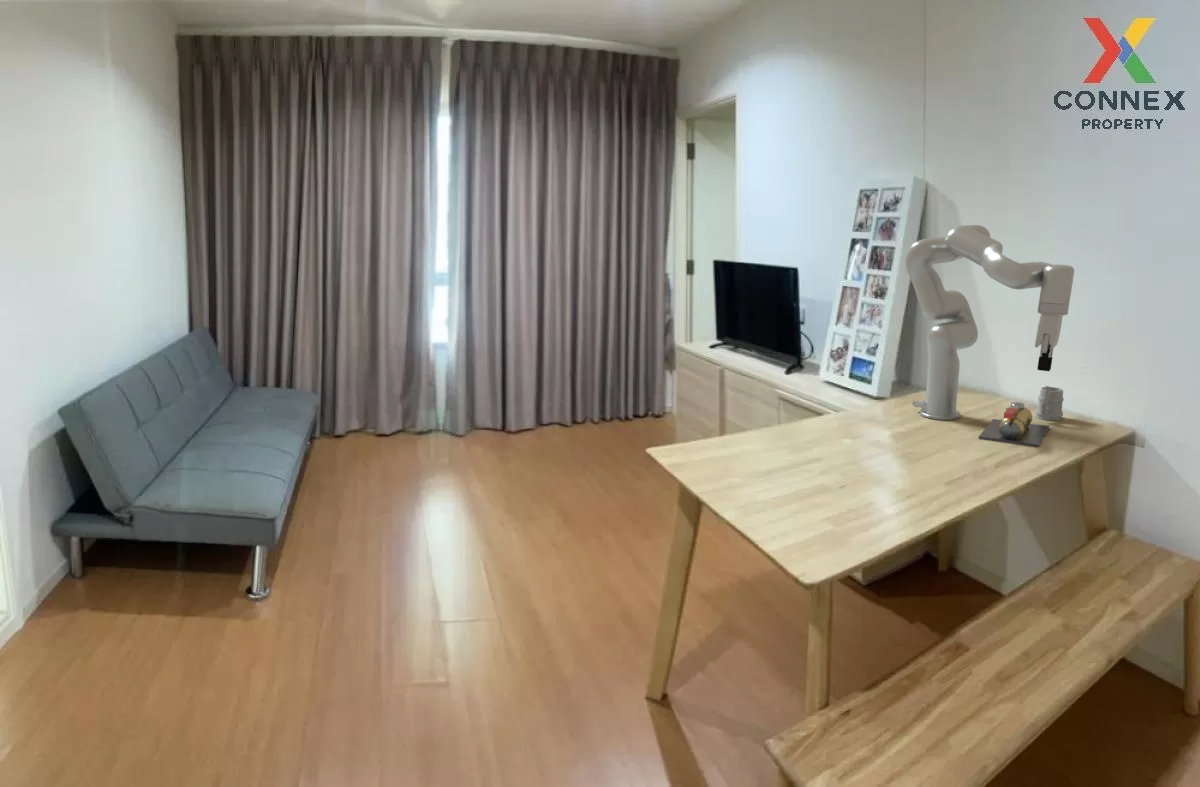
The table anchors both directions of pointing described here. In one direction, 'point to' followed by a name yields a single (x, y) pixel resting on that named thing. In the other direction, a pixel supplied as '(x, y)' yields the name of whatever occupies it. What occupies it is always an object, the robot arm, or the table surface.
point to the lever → (1013, 409)
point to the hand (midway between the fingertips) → (1043, 370)
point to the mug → (1050, 404)
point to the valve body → (1016, 430)
